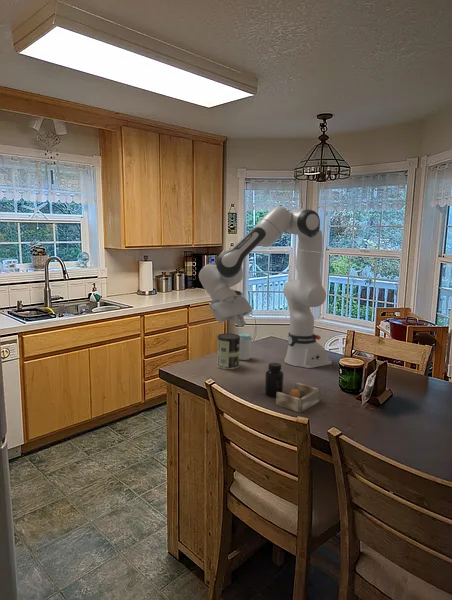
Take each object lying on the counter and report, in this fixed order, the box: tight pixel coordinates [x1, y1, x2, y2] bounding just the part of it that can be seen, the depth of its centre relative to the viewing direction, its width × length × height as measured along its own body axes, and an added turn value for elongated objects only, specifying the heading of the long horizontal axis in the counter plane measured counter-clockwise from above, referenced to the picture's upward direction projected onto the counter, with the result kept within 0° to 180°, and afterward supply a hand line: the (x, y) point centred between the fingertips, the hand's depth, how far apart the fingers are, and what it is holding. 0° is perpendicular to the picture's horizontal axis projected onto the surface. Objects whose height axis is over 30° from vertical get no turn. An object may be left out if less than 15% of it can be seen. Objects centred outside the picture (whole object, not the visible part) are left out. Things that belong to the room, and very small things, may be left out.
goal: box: [275, 382, 322, 413], centre depth 157 cm, size 10×14×4 cm
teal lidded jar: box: [237, 332, 252, 361], centre depth 207 cm, size 7×7×12 cm
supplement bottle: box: [264, 362, 284, 398], centre depth 164 cm, size 7×7×12 cm
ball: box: [288, 388, 301, 398], centre depth 160 cm, size 4×4×4 cm
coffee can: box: [216, 332, 240, 370], centre depth 195 cm, size 10×10×14 cm
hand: (242, 325), depth 173 cm, fingers closed
